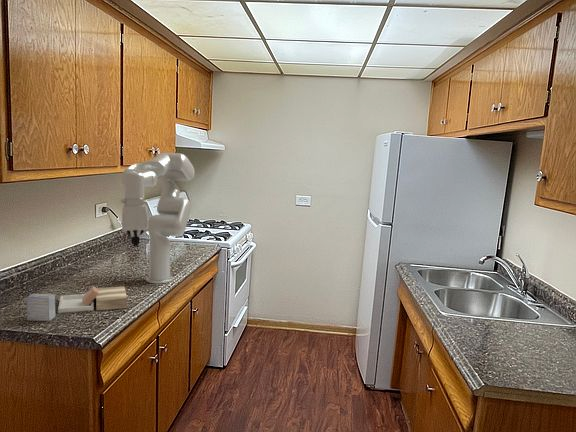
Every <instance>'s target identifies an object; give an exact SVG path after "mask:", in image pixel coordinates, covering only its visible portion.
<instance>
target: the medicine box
mask: <svg viewBox="0 0 576 432" xmlns="http://www.w3.org/2000/svg"><path fill="white" fill-rule="evenodd" d="M55 296H56V295H55V294H53V293H51V294H50V293H32V294H30V295H29V296H26V320H27V321H35V322H36V321H37V322H38V321H39V322H51V321H52V320H53V319H55V318H56V299H55V298H56V297H55Z"/></svg>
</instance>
